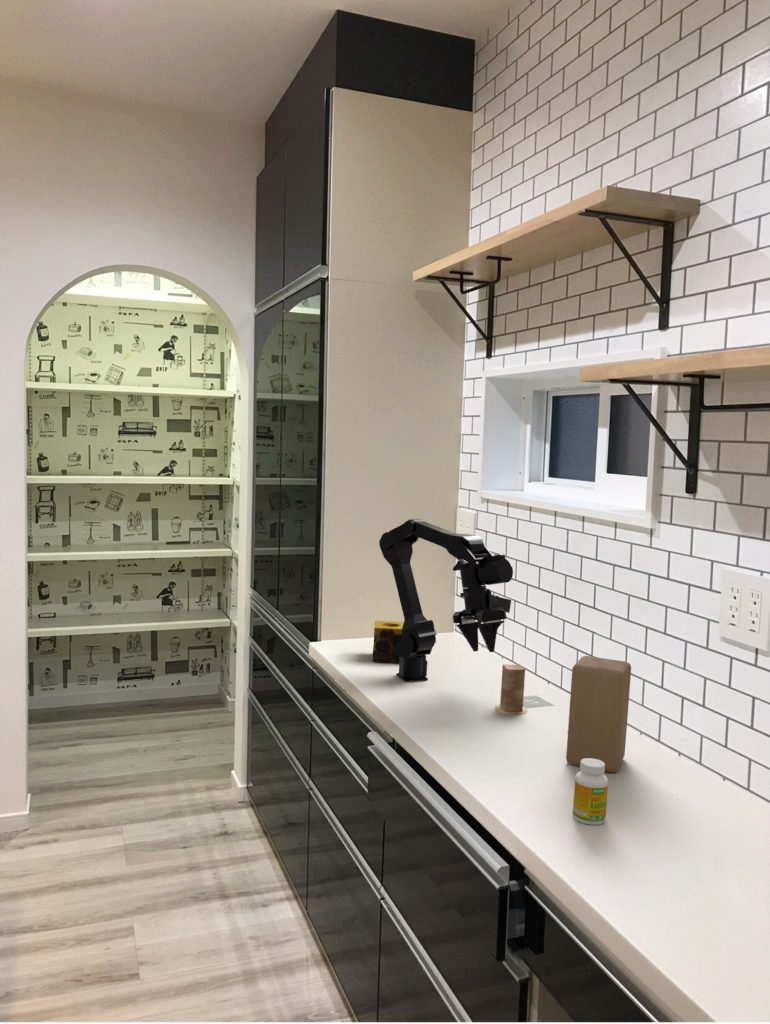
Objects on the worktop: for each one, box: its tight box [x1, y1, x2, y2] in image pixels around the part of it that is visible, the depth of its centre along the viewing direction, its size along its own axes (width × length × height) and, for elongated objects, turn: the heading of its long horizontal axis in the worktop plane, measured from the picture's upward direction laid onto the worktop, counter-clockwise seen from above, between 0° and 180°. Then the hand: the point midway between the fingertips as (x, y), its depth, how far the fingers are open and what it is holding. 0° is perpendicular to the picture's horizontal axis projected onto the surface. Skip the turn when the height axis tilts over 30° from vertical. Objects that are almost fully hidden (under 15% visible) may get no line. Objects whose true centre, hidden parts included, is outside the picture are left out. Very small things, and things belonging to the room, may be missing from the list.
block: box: [565, 655, 632, 774], centre depth 165 cm, size 10×10×20 cm
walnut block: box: [499, 664, 526, 712], centre depth 195 cm, size 4×4×10 cm
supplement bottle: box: [572, 758, 609, 826], centre depth 140 cm, size 5×5×10 cm
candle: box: [372, 620, 404, 665], centre depth 236 cm, size 10×10×10 cm
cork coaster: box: [494, 704, 529, 716], centre depth 195 cm, size 8×8×1 cm
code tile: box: [523, 695, 555, 709], centre depth 202 cm, size 8×8×1 cm
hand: (483, 651), depth 201 cm, fingers open, 9 cm apart
